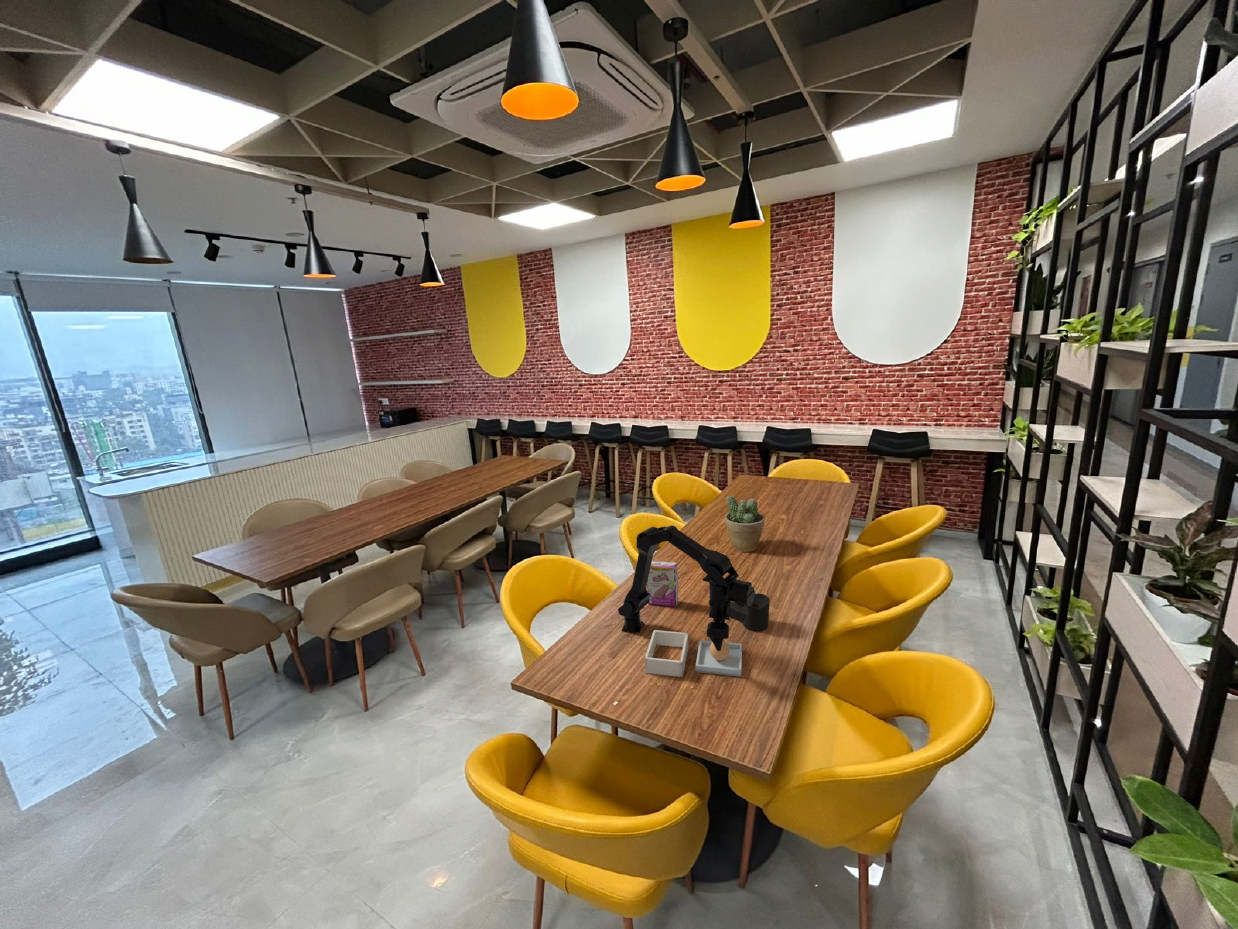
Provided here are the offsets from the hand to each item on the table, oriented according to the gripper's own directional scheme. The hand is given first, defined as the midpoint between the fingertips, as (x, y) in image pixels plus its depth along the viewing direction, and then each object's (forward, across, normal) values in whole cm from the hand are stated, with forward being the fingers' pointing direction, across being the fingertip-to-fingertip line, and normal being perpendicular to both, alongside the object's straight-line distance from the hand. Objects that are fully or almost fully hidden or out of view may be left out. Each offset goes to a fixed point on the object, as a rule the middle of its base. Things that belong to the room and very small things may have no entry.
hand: (719, 641), depth 153 cm
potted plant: (+7, +88, -7) cm, 89 cm away
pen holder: (+7, +22, -11) cm, 26 cm away
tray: (+7, 0, 0) cm, 7 cm away
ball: (+3, 0, 0) cm, 3 cm away
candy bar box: (+7, +32, +23) cm, 40 cm away
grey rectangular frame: (+7, -2, +16) cm, 18 cm away
